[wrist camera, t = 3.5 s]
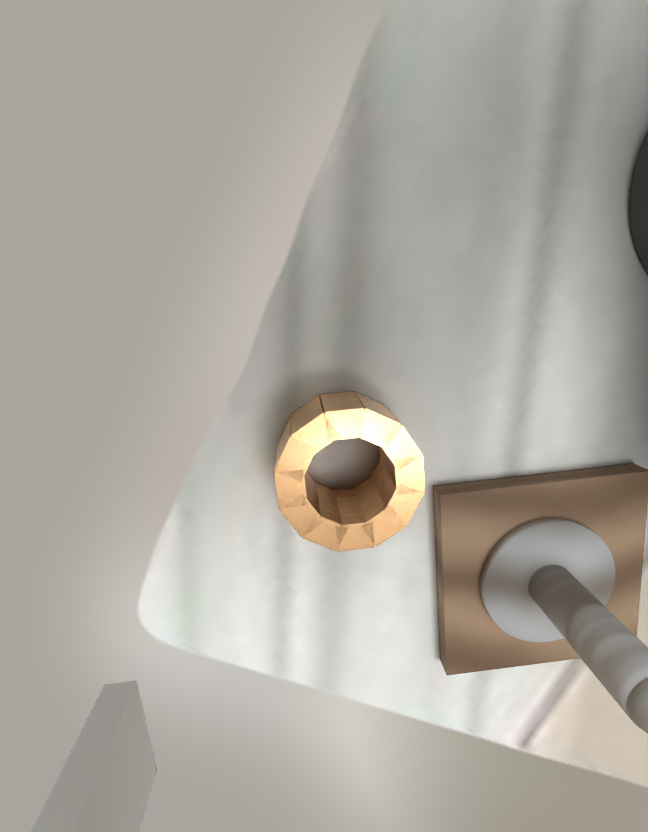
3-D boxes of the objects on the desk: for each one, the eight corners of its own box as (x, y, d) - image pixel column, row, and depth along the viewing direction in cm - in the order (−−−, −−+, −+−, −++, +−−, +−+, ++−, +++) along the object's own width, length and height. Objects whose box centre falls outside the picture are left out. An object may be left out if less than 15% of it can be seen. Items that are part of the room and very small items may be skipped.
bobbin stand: (433, 486, 31) (530, 611, 18) (633, 463, 31) (864, 569, 18) (440, 659, 34) (525, 868, 21) (620, 636, 34) (809, 826, 22)
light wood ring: (271, 399, 29) (266, 418, 24) (399, 386, 29) (421, 401, 24) (286, 518, 30) (284, 557, 26) (406, 504, 31) (427, 541, 26)
